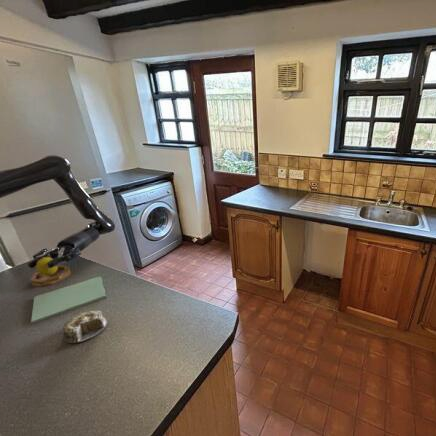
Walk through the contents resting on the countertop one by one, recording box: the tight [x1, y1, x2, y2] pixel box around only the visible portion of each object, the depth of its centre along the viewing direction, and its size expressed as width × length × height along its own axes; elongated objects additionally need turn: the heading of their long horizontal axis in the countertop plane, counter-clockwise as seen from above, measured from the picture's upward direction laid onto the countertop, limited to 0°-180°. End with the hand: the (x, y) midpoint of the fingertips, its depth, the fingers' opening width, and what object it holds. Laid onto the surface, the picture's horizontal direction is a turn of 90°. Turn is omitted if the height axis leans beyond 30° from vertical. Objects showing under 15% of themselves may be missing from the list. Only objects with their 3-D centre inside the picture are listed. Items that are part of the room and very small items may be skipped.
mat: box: [30, 275, 107, 324], centre depth 82 cm, size 18×14×1 cm
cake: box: [62, 310, 108, 344], centre depth 69 cm, size 10×10×5 cm
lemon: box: [35, 256, 59, 276], centre depth 90 cm, size 6×6×8 cm
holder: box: [30, 264, 72, 287], centre depth 92 cm, size 11×11×2 cm
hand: (39, 265), depth 87 cm, fingers open, 6 cm apart
